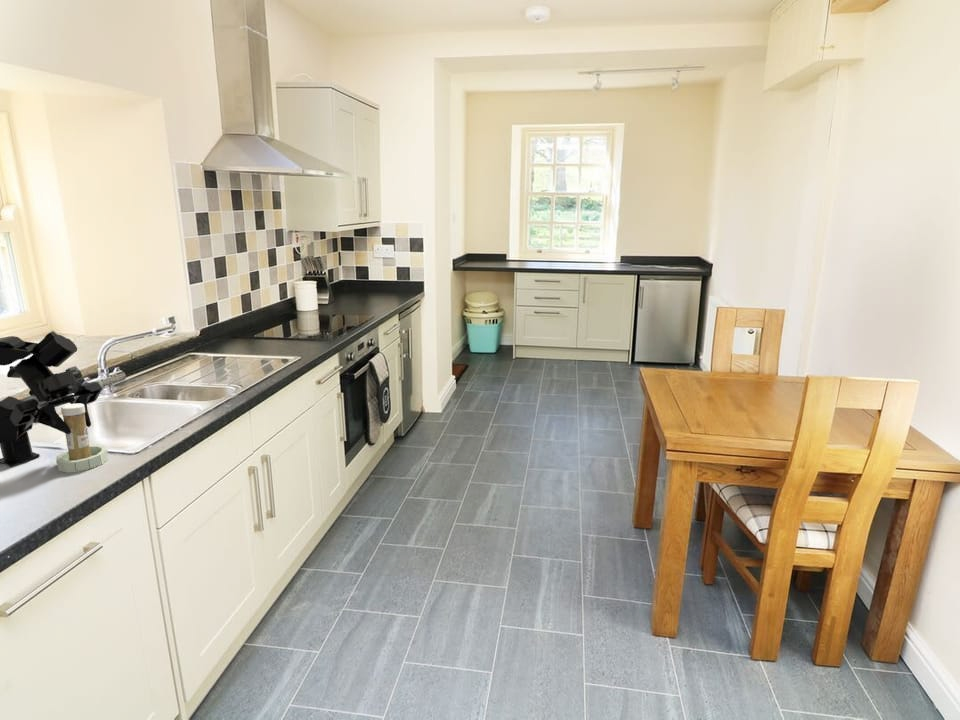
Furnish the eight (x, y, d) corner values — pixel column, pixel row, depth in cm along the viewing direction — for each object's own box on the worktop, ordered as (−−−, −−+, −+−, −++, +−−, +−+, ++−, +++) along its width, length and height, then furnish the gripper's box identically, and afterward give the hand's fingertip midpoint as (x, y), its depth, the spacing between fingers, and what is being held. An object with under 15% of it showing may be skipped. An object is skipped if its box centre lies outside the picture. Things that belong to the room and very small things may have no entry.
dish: (50, 467, 137) (47, 457, 137) (93, 451, 146) (91, 442, 145) (73, 475, 133) (71, 465, 132) (117, 458, 141) (115, 449, 141)
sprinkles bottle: (92, 460, 138) (84, 406, 135) (69, 464, 136) (60, 409, 133) (91, 454, 142) (83, 401, 139) (68, 458, 139) (60, 404, 136)
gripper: (6, 369, 126) (48, 423, 125) (90, 349, 142) (129, 397, 141) (-8, 399, 131) (33, 451, 130) (75, 377, 148) (112, 423, 146)
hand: (79, 429), depth 137 cm, fingers open, 4 cm apart
